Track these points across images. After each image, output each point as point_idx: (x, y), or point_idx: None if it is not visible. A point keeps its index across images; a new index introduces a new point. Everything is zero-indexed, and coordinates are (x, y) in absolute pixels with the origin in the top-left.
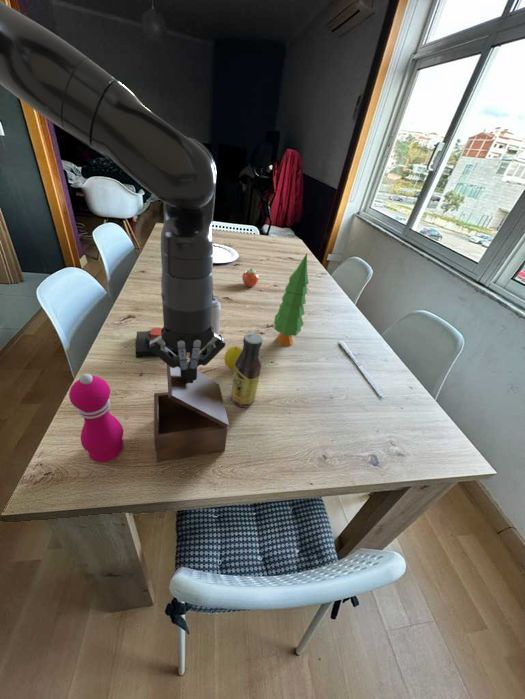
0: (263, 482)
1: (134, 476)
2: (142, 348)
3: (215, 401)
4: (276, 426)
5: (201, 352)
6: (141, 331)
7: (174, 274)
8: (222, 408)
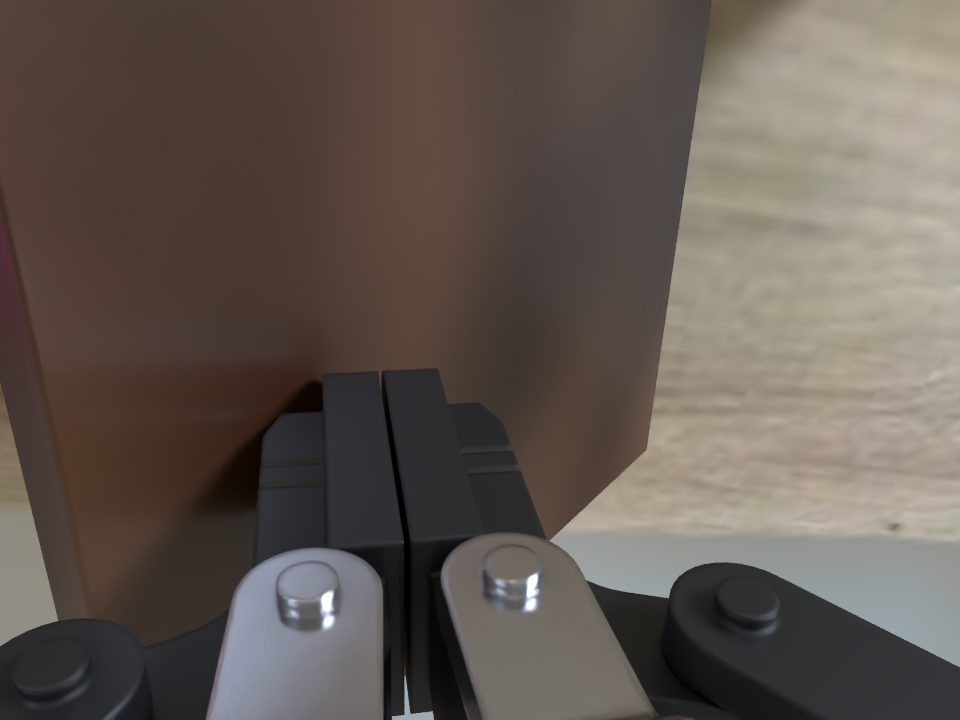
0: (690, 499)
1: (2, 393)
2: None
3: (614, 306)
4: (938, 181)
5: (749, 700)
6: None
7: None
8: (649, 322)
